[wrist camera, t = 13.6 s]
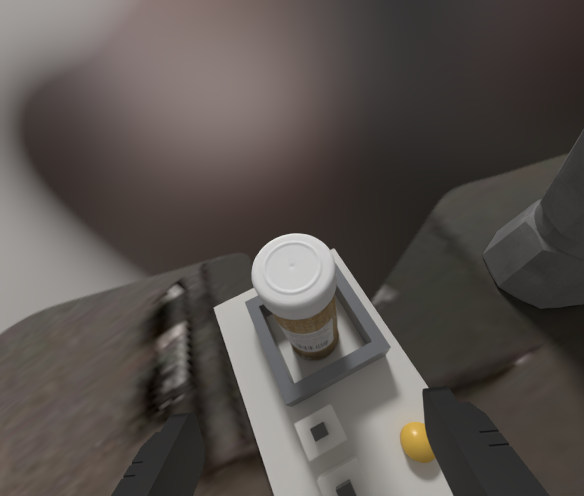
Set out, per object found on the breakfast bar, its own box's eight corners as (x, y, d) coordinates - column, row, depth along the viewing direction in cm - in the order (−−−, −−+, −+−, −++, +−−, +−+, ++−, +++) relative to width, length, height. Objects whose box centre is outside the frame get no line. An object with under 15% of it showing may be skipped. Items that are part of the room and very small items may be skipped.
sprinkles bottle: (341, 315, 27) (341, 233, 15) (335, 366, 24) (329, 314, 13) (294, 308, 28) (261, 226, 16) (283, 356, 25) (238, 300, 14)
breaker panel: (334, 255, 32) (333, 229, 28) (513, 523, 19) (562, 552, 15) (218, 312, 30) (198, 294, 26) (329, 646, 18) (325, 717, 13)
